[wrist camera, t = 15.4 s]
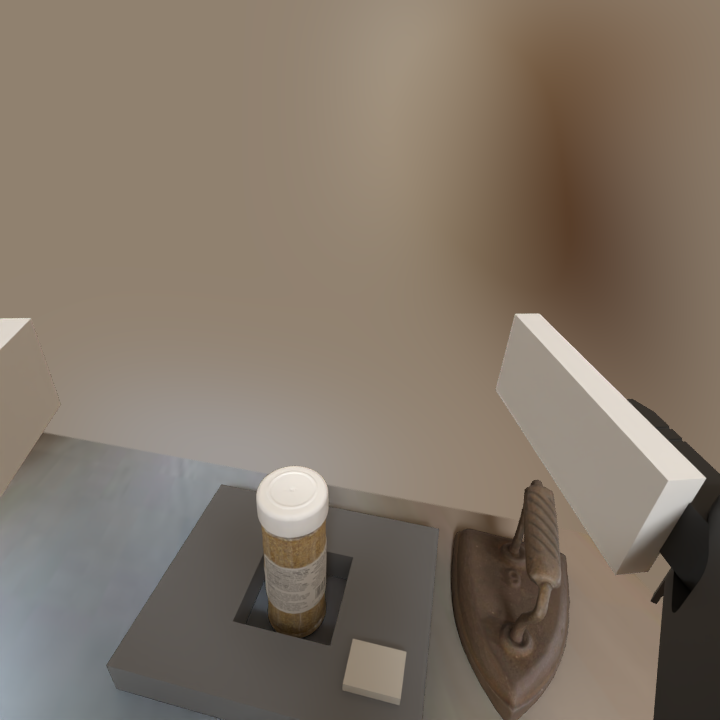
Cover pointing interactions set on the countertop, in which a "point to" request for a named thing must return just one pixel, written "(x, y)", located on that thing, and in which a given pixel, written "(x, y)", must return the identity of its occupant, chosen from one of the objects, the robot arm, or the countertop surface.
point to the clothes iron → (513, 604)
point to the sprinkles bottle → (294, 548)
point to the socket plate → (279, 651)
